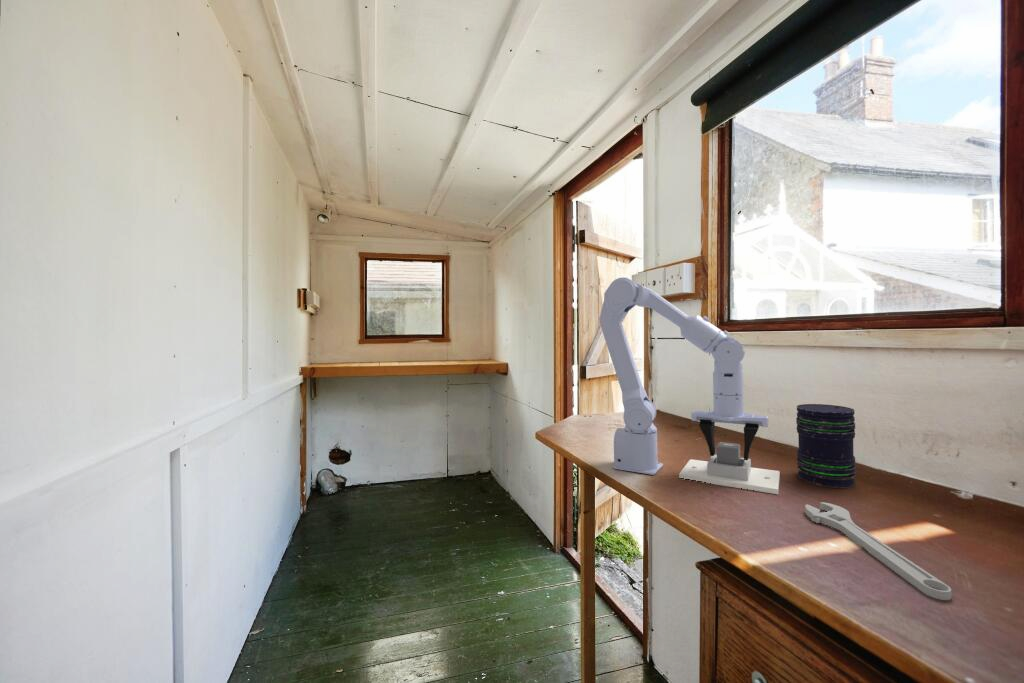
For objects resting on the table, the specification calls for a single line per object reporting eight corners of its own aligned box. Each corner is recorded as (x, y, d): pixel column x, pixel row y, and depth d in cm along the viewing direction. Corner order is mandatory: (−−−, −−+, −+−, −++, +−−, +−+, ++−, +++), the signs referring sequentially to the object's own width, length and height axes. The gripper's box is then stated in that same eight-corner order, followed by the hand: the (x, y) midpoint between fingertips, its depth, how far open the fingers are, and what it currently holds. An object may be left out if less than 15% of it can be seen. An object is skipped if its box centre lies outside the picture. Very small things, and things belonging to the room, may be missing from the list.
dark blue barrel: (824, 489, 82) (823, 413, 82) (785, 473, 92) (784, 405, 92) (869, 486, 84) (868, 411, 83) (826, 470, 93) (825, 403, 93)
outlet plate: (679, 478, 91) (678, 462, 90) (690, 463, 100) (690, 448, 100) (778, 494, 81) (777, 476, 80) (779, 475, 91) (779, 459, 90)
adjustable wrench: (959, 606, 49) (959, 591, 48) (894, 600, 50) (895, 585, 50) (838, 512, 73) (837, 502, 73) (796, 510, 74) (796, 500, 74)
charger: (717, 474, 90) (716, 445, 89) (720, 469, 93) (719, 441, 93) (738, 477, 87) (737, 448, 87) (740, 471, 91) (740, 443, 91)
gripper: (688, 394, 91) (689, 456, 91) (766, 398, 83) (767, 467, 83) (694, 390, 97) (695, 448, 97) (768, 393, 89) (769, 457, 89)
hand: (729, 456), depth 90 cm, fingers open, 6 cm apart
